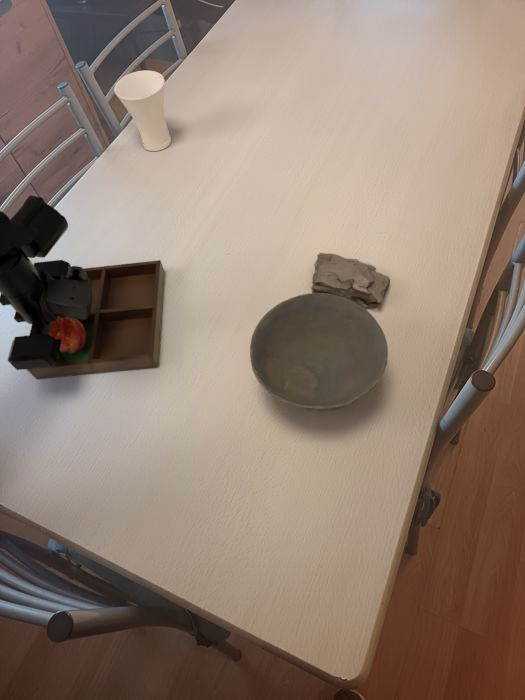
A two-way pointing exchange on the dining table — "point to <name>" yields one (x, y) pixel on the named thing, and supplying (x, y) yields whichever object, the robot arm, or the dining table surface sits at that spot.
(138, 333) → the four compartment tray
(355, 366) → the bowl
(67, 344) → the red round fruit
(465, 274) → the dining table surface
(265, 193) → the dining table surface
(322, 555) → the dining table surface
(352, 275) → the rock
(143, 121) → the cup
